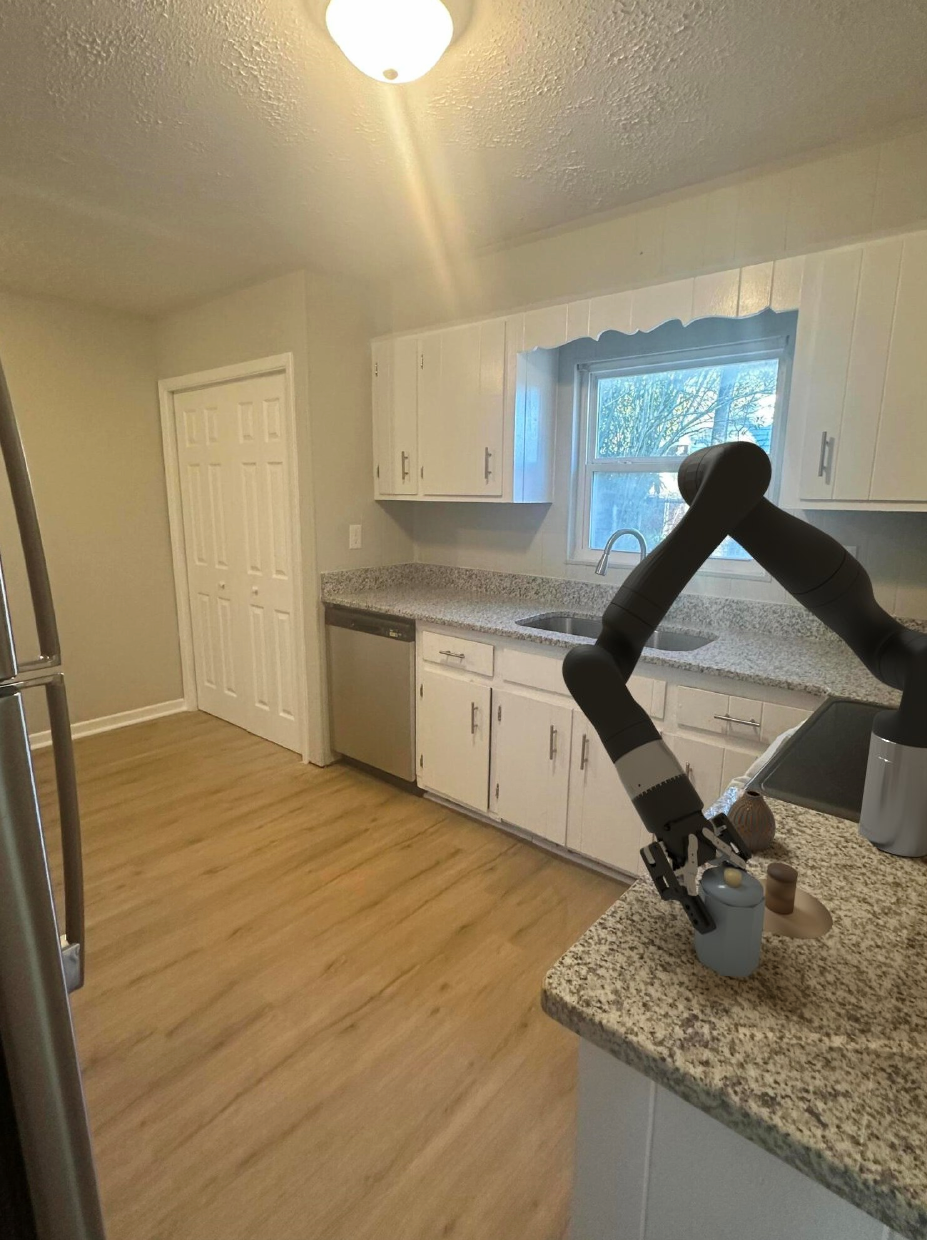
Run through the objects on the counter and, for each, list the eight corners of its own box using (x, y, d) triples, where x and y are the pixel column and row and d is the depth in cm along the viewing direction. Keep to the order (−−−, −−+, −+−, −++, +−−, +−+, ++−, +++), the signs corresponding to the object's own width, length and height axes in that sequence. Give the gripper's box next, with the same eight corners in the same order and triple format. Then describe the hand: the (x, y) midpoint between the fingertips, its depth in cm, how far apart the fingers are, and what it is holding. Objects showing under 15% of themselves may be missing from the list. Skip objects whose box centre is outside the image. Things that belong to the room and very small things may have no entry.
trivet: (806, 887, 85) (807, 881, 85) (850, 948, 74) (851, 942, 73) (716, 881, 87) (716, 875, 86) (745, 940, 75) (745, 934, 75)
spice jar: (787, 898, 81) (791, 863, 81) (798, 916, 78) (802, 879, 77) (759, 896, 82) (763, 861, 81) (769, 914, 78) (773, 877, 78)
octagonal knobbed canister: (744, 944, 74) (753, 859, 72) (764, 985, 68) (774, 892, 66) (689, 940, 75) (695, 855, 73) (703, 980, 69) (711, 888, 67)
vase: (767, 864, 91) (773, 808, 89) (718, 848, 95) (723, 795, 93) (777, 844, 96) (783, 791, 95) (730, 829, 100) (735, 779, 99)
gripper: (635, 787, 71) (717, 934, 63) (712, 759, 78) (793, 888, 71) (599, 811, 76) (670, 949, 69) (675, 783, 84) (746, 905, 76)
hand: (732, 918), depth 70 cm, fingers open, 8 cm apart
